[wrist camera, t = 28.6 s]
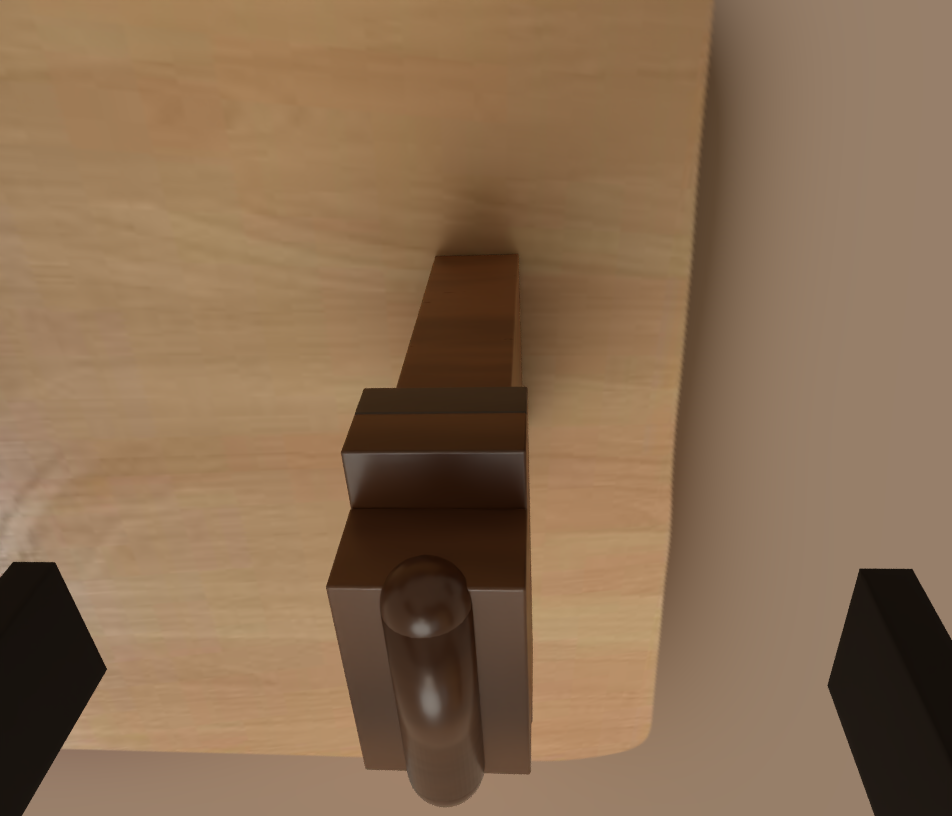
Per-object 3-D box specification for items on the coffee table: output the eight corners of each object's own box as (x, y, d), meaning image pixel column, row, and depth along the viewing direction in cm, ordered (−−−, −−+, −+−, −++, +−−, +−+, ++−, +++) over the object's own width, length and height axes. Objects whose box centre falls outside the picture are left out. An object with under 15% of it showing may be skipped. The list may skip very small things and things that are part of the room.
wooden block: (434, 255, 37) (386, 415, 25) (518, 253, 36) (510, 413, 25) (449, 429, 42) (416, 628, 30) (523, 429, 42) (517, 629, 30)
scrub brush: (363, 387, 25) (299, 562, 18) (527, 385, 24) (523, 564, 17) (402, 644, 31) (366, 843, 24) (532, 646, 30) (531, 850, 24)
